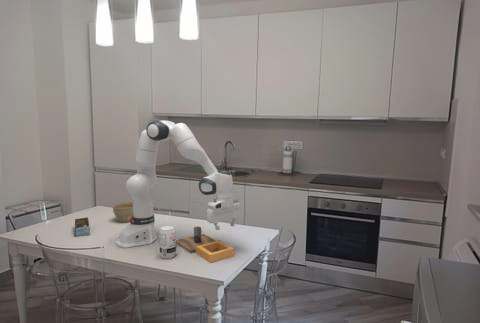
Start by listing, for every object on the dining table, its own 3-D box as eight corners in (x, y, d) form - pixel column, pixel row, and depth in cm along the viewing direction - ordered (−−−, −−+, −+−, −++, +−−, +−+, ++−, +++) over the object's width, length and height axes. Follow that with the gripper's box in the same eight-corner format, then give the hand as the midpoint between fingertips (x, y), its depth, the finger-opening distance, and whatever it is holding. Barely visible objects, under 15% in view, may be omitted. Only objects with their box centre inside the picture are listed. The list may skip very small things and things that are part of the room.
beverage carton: (75, 237, 201) (74, 226, 200) (75, 228, 218) (74, 218, 217) (90, 235, 205) (89, 225, 204) (88, 226, 222) (88, 216, 221)
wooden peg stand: (191, 253, 178) (190, 235, 177) (175, 242, 192) (175, 226, 191) (220, 245, 189) (219, 228, 187) (203, 236, 203) (203, 220, 202)
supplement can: (161, 253, 178) (160, 225, 176) (177, 252, 179) (176, 224, 177) (158, 259, 170) (157, 230, 168) (175, 259, 171) (174, 230, 169)
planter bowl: (116, 217, 240) (115, 202, 239) (140, 216, 242) (139, 201, 241) (110, 224, 224) (109, 208, 223) (135, 223, 226) (135, 207, 225)
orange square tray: (210, 262, 166) (210, 255, 166) (196, 253, 178) (196, 246, 177) (234, 255, 175) (233, 248, 174) (219, 247, 186) (218, 240, 185)
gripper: (237, 197, 185) (237, 222, 186) (204, 204, 173) (205, 230, 174) (244, 199, 180) (244, 225, 181) (211, 206, 168) (212, 233, 169)
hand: (225, 227), depth 178 cm, fingers open, 8 cm apart
